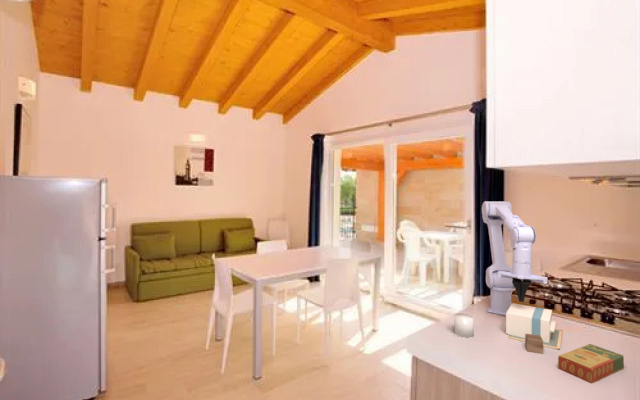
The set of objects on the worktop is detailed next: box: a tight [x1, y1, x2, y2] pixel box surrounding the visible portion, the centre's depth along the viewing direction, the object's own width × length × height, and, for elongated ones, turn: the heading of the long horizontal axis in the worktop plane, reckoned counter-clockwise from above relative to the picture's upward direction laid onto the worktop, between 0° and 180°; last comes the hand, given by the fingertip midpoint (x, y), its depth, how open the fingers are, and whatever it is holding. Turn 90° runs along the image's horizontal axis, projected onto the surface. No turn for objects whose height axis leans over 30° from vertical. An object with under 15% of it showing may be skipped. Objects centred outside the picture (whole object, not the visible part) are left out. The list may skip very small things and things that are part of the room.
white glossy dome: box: [453, 312, 475, 339], centre depth 115 cm, size 6×6×6 cm
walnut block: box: [524, 334, 544, 355], centre depth 104 cm, size 4×4×4 cm
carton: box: [557, 343, 625, 384], centre depth 93 cm, size 8×16×4 cm, turn 116°
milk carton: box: [505, 302, 557, 343], centre depth 115 cm, size 12×7×13 cm
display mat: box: [507, 328, 563, 351], centre depth 114 cm, size 17×14×1 cm
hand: (521, 301), depth 117 cm, fingers closed
